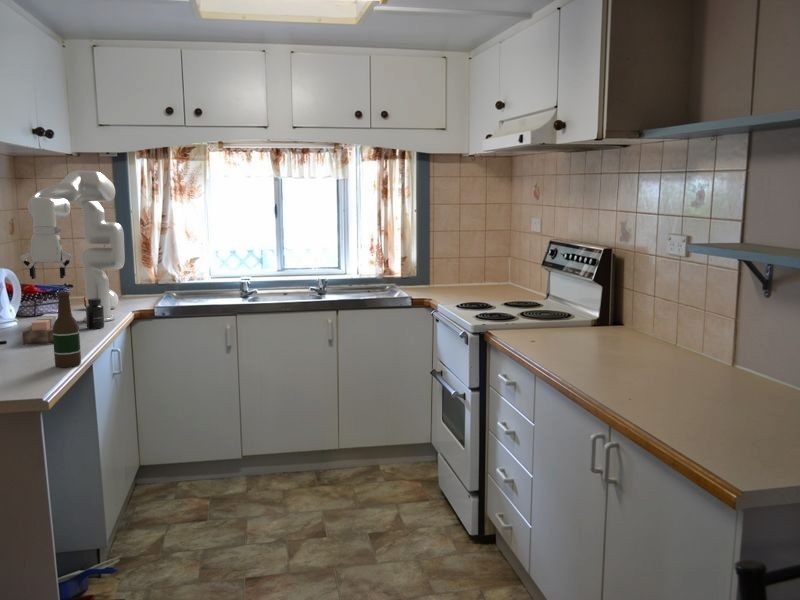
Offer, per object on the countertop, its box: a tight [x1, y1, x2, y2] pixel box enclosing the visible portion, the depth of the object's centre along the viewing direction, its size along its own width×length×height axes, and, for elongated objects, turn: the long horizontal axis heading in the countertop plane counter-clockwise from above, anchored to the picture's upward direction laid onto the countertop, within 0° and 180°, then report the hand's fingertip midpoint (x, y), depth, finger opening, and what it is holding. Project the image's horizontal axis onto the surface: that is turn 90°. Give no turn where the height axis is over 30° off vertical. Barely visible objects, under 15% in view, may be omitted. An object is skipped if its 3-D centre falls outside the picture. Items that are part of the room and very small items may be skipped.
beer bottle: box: [53, 290, 82, 369], centre depth 227 cm, size 8×8×24 cm
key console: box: [21, 324, 54, 346], centre depth 271 cm, size 11×21×5 cm, turn 13°
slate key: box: [36, 316, 55, 327], centre depth 270 cm, size 5×5×4 cm
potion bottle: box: [83, 289, 119, 310], centre depth 338 cm, size 9×10×15 cm
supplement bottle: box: [85, 298, 105, 330], centre depth 292 cm, size 7×7×12 cm
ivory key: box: [41, 313, 58, 321], centre depth 277 cm, size 5×5×4 cm
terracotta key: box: [30, 319, 50, 331], centre depth 263 cm, size 5×5×4 cm
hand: (48, 278), depth 261 cm, fingers open, 9 cm apart
